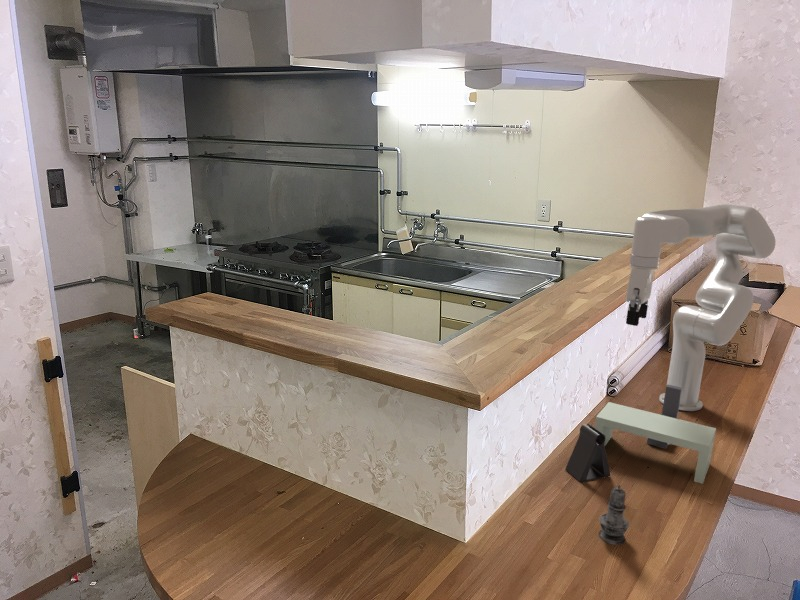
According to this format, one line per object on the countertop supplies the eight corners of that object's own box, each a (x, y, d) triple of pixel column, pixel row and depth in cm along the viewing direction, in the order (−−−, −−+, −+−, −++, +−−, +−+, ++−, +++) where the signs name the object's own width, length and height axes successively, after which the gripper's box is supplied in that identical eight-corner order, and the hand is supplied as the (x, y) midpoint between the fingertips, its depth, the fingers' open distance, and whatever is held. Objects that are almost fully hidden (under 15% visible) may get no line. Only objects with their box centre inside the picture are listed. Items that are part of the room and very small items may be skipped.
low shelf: (604, 435, 179) (608, 401, 177) (709, 464, 166) (716, 428, 163) (591, 451, 170) (596, 416, 167) (702, 483, 156) (709, 446, 153)
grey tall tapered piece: (622, 549, 130) (630, 496, 126) (593, 538, 132) (600, 486, 129) (629, 534, 134) (637, 483, 131) (601, 525, 137) (608, 474, 134)
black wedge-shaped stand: (595, 465, 163) (600, 421, 160) (610, 476, 157) (616, 431, 154) (564, 470, 160) (570, 425, 157) (579, 482, 154) (585, 436, 151)
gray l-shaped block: (659, 422, 189) (665, 384, 186) (677, 426, 187) (684, 388, 184) (646, 443, 176) (653, 402, 173) (666, 448, 173) (672, 407, 170)
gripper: (637, 255, 187) (629, 312, 192) (622, 264, 173) (614, 325, 177) (664, 259, 184) (656, 317, 188) (651, 268, 169) (642, 330, 174)
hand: (636, 321), depth 183 cm, fingers open, 9 cm apart
